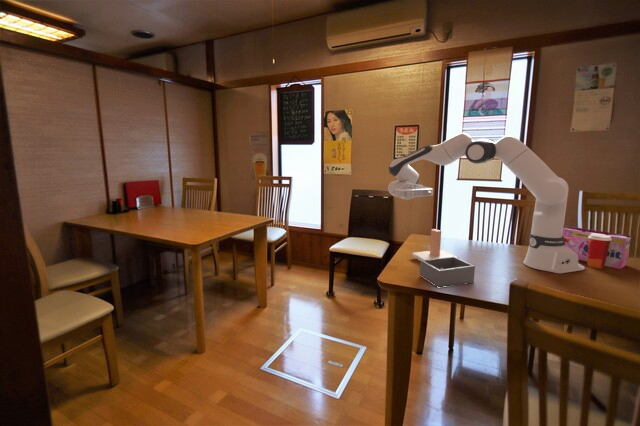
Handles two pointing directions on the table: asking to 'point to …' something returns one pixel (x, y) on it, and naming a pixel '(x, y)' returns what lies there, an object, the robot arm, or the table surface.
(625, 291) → the table surface
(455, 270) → the parts tub
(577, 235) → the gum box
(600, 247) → the paper cup
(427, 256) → the lid
